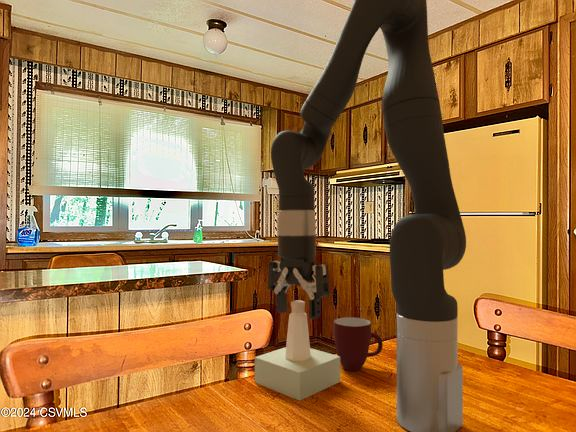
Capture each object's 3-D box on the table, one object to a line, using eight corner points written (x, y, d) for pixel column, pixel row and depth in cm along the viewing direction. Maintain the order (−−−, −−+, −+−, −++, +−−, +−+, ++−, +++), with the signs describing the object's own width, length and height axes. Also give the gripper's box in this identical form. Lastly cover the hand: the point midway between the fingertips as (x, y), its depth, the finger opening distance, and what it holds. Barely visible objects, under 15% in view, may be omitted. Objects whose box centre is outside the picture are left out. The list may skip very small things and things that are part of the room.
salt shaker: (290, 363, 80) (290, 305, 80) (280, 354, 85) (280, 299, 85) (316, 359, 82) (316, 302, 82) (304, 351, 87) (304, 297, 87)
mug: (375, 360, 97) (375, 316, 97) (387, 373, 89) (387, 325, 89) (329, 362, 95) (329, 317, 95) (338, 375, 87) (338, 327, 87)
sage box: (340, 381, 84) (340, 356, 84) (299, 400, 75) (299, 372, 75) (295, 366, 92) (295, 343, 92) (254, 382, 84) (254, 357, 84)
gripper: (337, 233, 82) (338, 317, 82) (284, 232, 92) (284, 307, 91) (312, 234, 76) (313, 324, 76) (258, 233, 86) (259, 313, 86)
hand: (297, 315), depth 84 cm, fingers open, 8 cm apart
